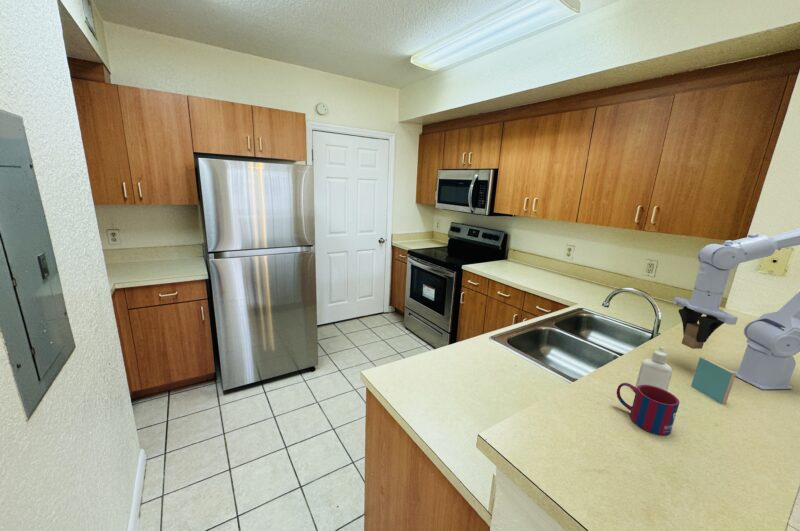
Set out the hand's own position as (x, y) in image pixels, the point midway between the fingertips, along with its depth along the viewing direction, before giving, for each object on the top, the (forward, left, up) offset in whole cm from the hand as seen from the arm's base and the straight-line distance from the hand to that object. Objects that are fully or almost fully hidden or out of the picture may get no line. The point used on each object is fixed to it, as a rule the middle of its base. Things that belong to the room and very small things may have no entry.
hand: (694, 338), depth 87 cm
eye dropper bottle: (+21, +10, -9) cm, 25 cm away
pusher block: (0, 0, -2) cm, 2 cm away
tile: (+6, +11, -9) cm, 16 cm away
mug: (+31, +18, -9) cm, 37 cm away
